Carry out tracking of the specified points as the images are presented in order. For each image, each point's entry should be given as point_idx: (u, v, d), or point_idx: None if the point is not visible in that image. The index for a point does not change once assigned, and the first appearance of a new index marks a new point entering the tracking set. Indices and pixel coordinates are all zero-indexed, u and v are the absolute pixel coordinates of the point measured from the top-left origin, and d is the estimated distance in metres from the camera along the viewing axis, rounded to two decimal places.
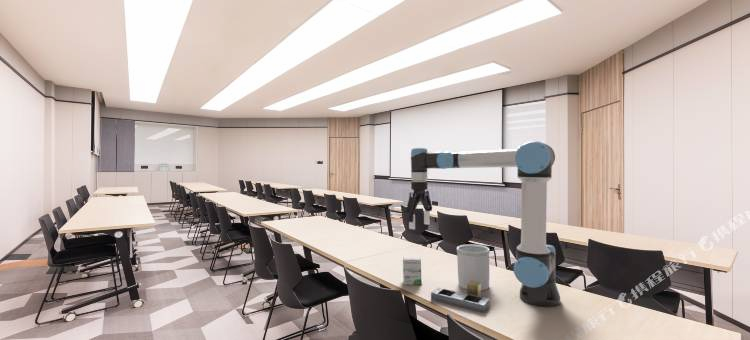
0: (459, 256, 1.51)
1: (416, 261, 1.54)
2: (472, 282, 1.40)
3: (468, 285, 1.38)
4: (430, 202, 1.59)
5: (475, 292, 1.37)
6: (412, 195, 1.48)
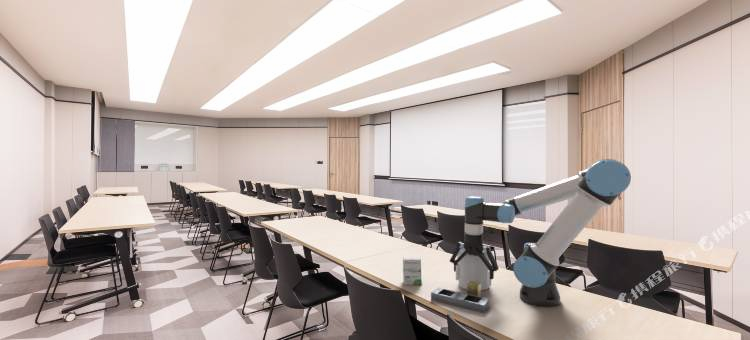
0: None
1: (416, 261, 1.54)
2: (472, 282, 1.40)
3: (468, 285, 1.38)
4: (492, 262, 1.33)
5: (475, 292, 1.37)
6: None
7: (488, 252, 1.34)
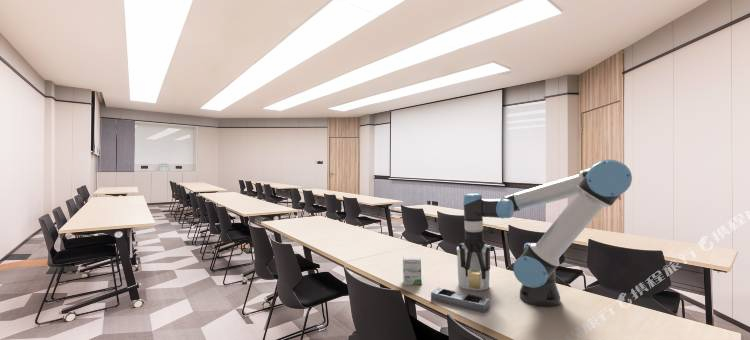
0: (459, 256, 1.51)
1: (416, 261, 1.54)
2: (473, 271, 1.40)
3: (469, 274, 1.38)
4: (487, 262, 1.35)
5: (476, 280, 1.36)
6: None
7: (487, 252, 1.35)
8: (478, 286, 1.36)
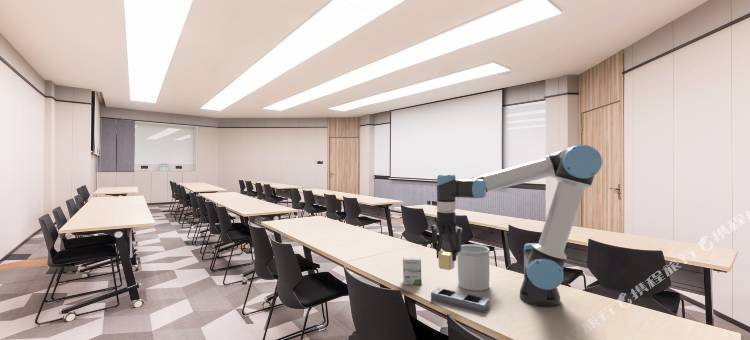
0: (459, 256, 1.51)
1: (416, 261, 1.54)
2: (444, 252, 1.38)
3: (440, 255, 1.36)
4: (458, 243, 1.32)
5: (446, 261, 1.34)
6: None
7: (458, 233, 1.32)
8: (448, 267, 1.34)
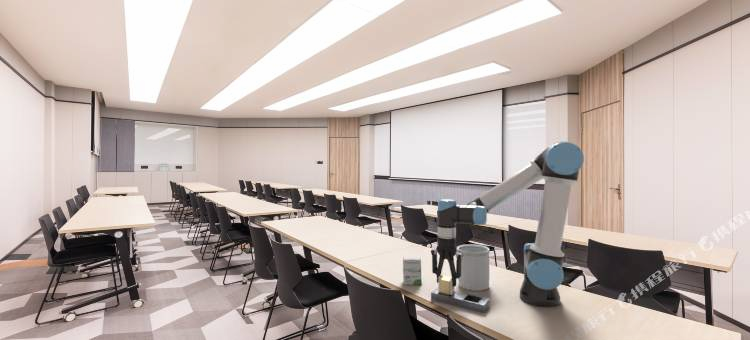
0: None
1: (416, 261, 1.54)
2: (444, 277, 1.38)
3: (440, 280, 1.36)
4: (458, 270, 1.33)
5: (446, 287, 1.34)
6: None
7: (458, 259, 1.32)
8: (448, 293, 1.34)
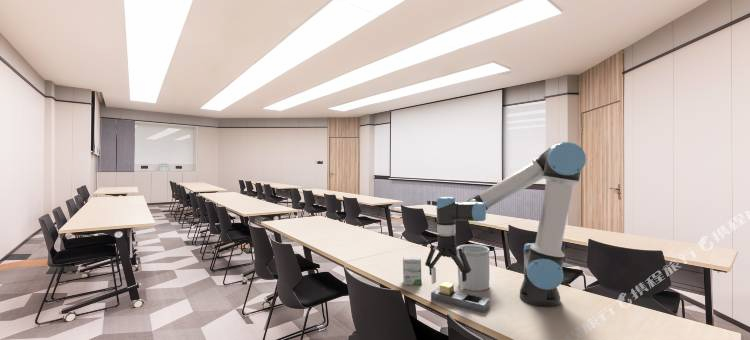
0: (459, 256, 1.51)
1: (416, 261, 1.54)
2: (445, 283, 1.38)
3: (440, 286, 1.36)
4: (465, 264, 1.31)
5: (447, 293, 1.35)
6: None
7: (461, 253, 1.32)
8: None
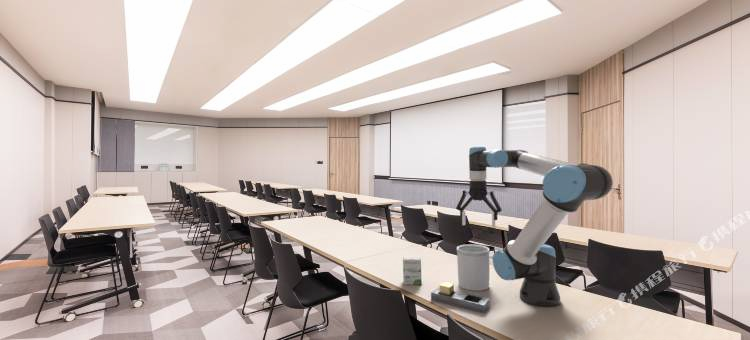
0: (459, 256, 1.51)
1: (416, 261, 1.54)
2: (445, 283, 1.38)
3: (440, 286, 1.36)
4: (496, 204, 1.46)
5: (447, 293, 1.35)
6: None
7: (492, 195, 1.47)
8: None
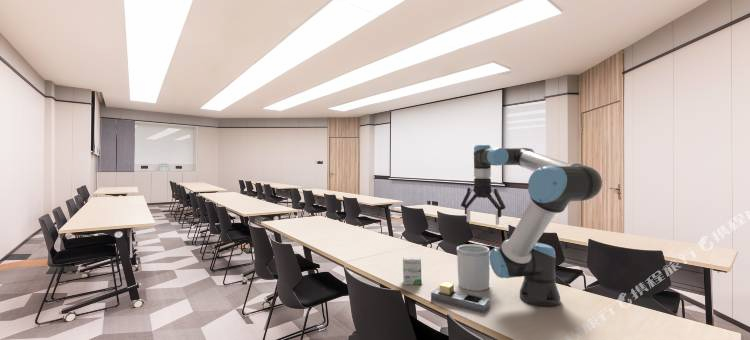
0: (459, 256, 1.51)
1: (416, 261, 1.54)
2: (445, 283, 1.38)
3: (440, 286, 1.36)
4: (500, 201, 1.49)
5: (447, 293, 1.35)
6: None
7: (496, 193, 1.50)
8: None
